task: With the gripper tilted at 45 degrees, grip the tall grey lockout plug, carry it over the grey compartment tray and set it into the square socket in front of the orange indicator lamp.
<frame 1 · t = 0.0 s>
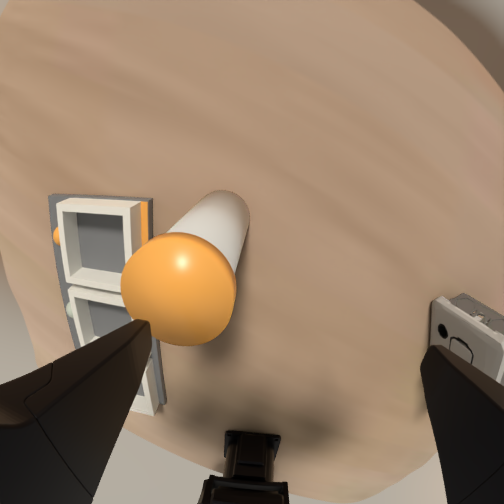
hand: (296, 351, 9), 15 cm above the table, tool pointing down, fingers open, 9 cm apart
grey compartment tray: (109, 311, 27), on the table
electrical switch: (451, 324, 25), on the table
lockout plug: (222, 217, 23), on the table
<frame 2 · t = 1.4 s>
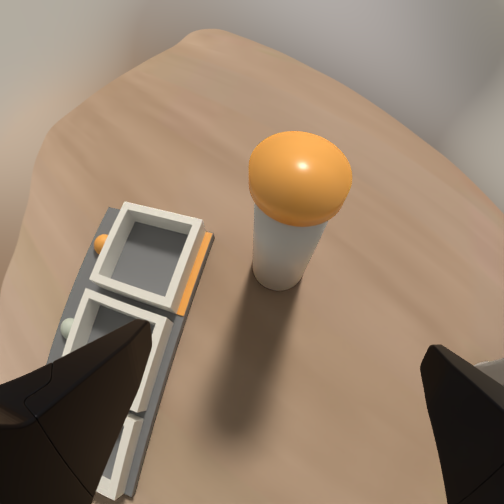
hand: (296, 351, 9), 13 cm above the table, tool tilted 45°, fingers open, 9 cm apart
grey compartment tray: (111, 347, 21), on the table
electrical switch: (488, 403, 19), on the table
lockout plug: (278, 266, 24), on the table
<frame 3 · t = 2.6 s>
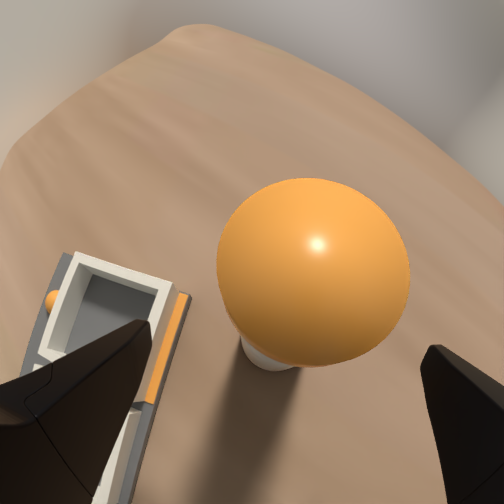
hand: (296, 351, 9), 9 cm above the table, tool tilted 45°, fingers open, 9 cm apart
grey compartment tray: (74, 428, 15), on the table
lockout plug: (275, 337, 18), on the table
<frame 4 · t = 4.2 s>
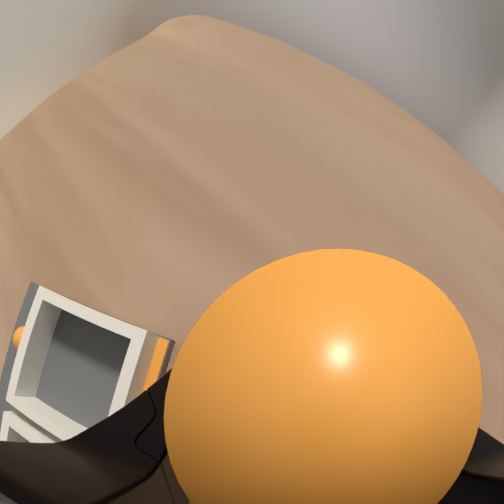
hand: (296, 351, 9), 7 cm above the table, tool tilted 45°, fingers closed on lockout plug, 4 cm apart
grey compartment tray: (53, 474, 11), on the table
lockout plug: (273, 389, 14), on the table, touching gripper
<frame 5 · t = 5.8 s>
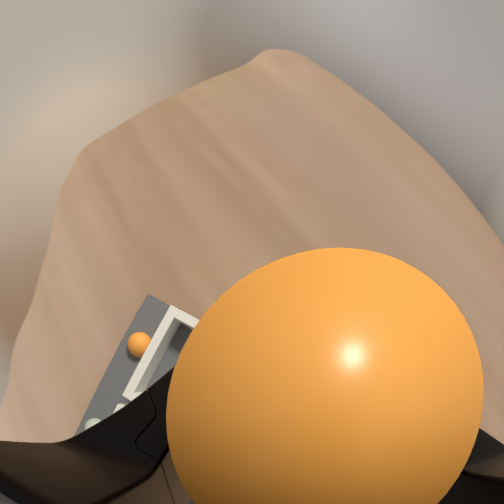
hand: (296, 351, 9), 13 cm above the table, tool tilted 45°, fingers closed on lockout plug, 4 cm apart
grey compartment tray: (142, 455, 17), on the table
lockout plug: (274, 389, 14), point 6 cm above the table, touching gripper
when the fingers open (8 cm above the table, at t = 7.5 s): lockout plug stays where it is, resting on grey compartment tray.
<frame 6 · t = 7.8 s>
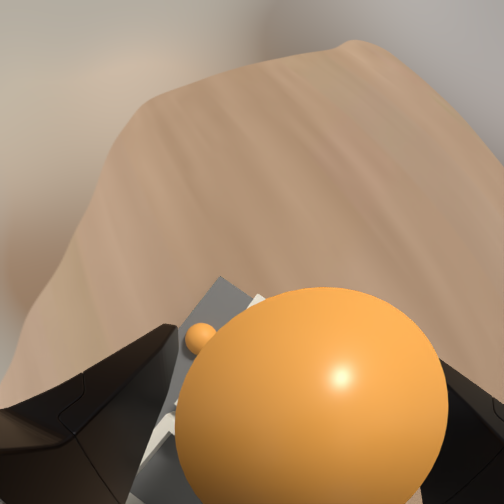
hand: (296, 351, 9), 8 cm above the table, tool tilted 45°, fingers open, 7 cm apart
grey compartment tray: (179, 475, 14), on the table
lockout plug: (272, 390, 15), point 1 cm above the table, touching grey compartment tray
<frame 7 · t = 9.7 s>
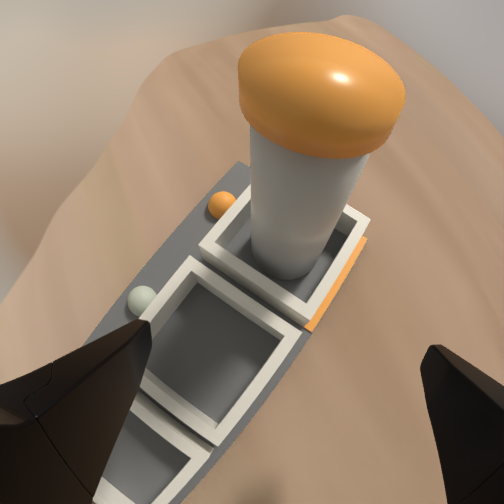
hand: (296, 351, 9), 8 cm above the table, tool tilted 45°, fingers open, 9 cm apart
grey compartment tray: (194, 342, 17), on the table
lockout plug: (285, 247, 18), point 1 cm above the table, touching grey compartment tray
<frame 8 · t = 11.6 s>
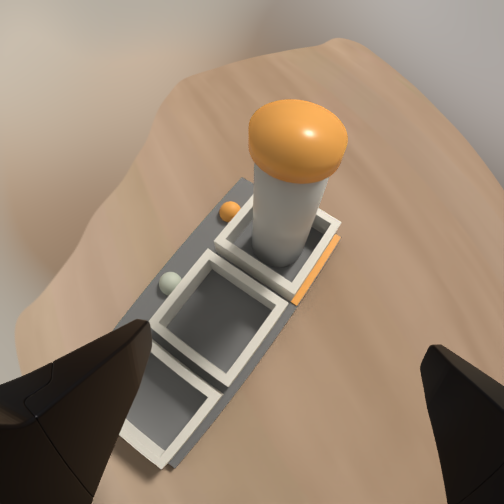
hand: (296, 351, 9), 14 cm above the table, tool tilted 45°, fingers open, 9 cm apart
grey compartment tray: (209, 314, 23), on the table
lockout plug: (277, 243, 24), point 1 cm above the table, touching grey compartment tray
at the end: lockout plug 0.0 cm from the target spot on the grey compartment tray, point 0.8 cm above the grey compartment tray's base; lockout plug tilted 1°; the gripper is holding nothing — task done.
